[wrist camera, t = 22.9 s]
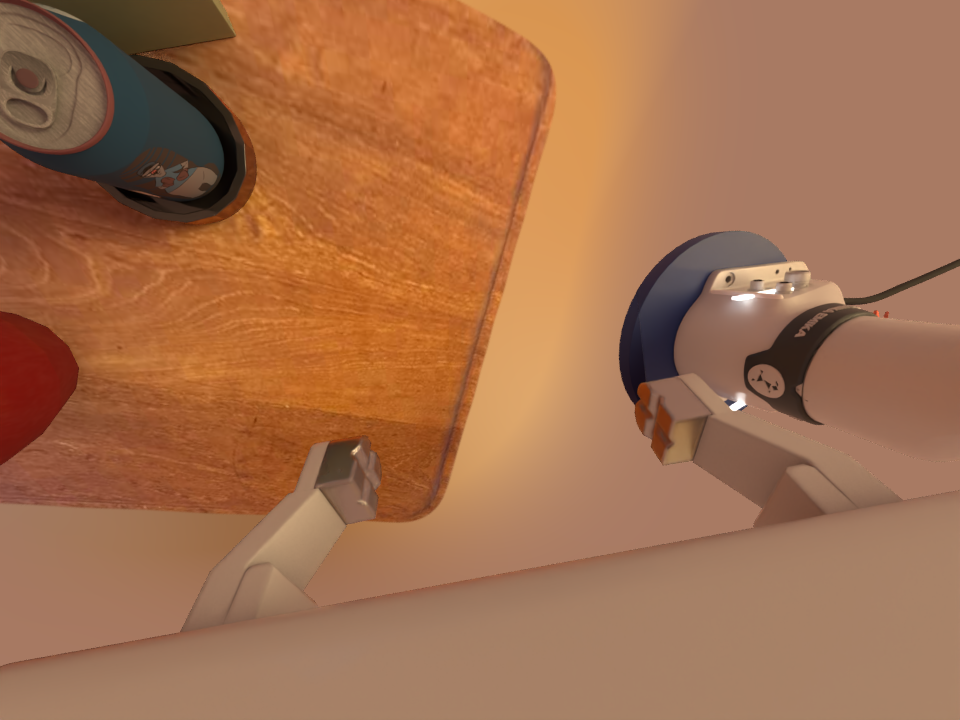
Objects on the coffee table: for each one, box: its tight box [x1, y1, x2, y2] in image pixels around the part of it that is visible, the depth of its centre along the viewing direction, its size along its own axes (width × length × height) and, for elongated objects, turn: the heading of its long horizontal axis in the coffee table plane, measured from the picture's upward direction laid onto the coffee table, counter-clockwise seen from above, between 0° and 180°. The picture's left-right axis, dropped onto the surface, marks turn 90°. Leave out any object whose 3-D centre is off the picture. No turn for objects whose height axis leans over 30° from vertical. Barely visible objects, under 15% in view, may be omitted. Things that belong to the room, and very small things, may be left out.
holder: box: [97, 54, 257, 225], centre depth 25 cm, size 10×10×2 cm
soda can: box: [0, 0, 224, 201], centre depth 20 cm, size 7×7×12 cm
